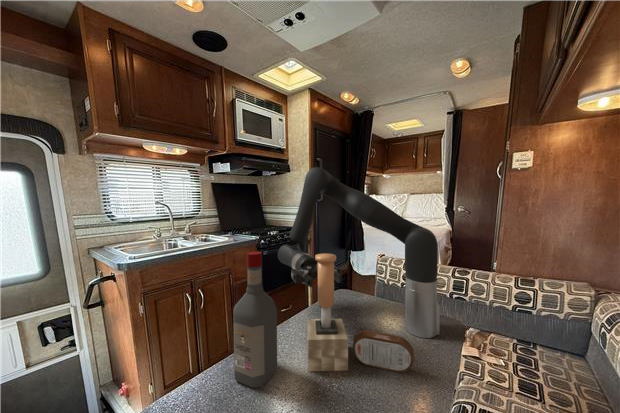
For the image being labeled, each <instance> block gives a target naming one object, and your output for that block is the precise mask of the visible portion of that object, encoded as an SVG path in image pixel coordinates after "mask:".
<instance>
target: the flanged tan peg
mask: <svg viewBox="0 0 620 413" xmlns="http://www.w3.org/2000/svg"><path fill="white" fill-rule="evenodd" d="M314 258H315V260H316V261H318V278H317V305H318V306H319V307H321V308H320V309H321V310H320V319H321V329H331V319H332V310H331V309H332V307H334V305H335V280H334V266H335V262H336V261H337V255H336V254H334V253H328V252H327V253H317V254H315V257H314Z"/></svg>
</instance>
